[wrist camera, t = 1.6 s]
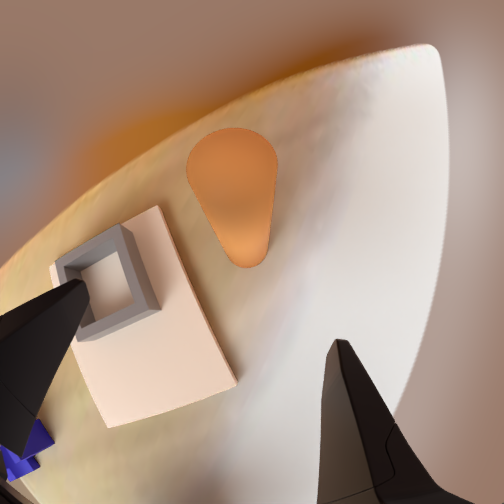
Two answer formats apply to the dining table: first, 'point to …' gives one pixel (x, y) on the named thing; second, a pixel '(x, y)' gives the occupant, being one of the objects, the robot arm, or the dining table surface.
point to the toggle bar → (236, 190)
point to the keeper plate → (141, 323)
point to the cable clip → (27, 453)
